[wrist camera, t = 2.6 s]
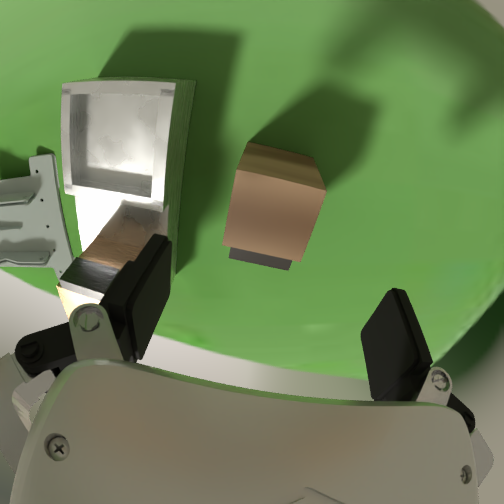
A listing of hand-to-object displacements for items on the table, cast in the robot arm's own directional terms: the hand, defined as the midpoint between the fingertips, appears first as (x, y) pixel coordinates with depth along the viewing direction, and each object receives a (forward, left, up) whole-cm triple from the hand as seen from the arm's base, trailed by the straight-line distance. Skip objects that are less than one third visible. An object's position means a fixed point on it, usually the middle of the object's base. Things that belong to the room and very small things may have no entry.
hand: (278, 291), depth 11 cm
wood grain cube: (-1, -1, -11) cm, 11 cm away
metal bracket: (+8, -26, -11) cm, 29 cm away
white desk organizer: (+2, -11, -11) cm, 15 cm away
